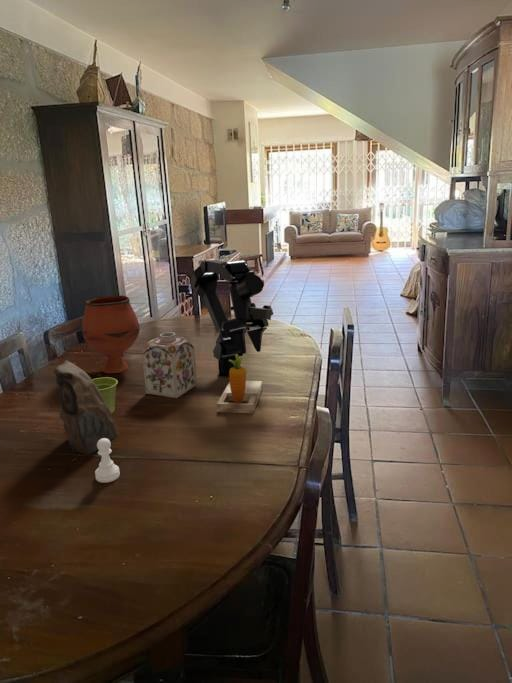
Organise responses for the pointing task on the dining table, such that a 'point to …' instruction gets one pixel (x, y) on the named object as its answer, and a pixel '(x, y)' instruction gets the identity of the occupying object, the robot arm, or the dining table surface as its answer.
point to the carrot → (237, 380)
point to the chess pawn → (106, 463)
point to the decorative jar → (169, 366)
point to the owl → (83, 409)
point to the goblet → (110, 329)
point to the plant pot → (107, 390)
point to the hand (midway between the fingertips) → (251, 352)
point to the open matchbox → (251, 395)
